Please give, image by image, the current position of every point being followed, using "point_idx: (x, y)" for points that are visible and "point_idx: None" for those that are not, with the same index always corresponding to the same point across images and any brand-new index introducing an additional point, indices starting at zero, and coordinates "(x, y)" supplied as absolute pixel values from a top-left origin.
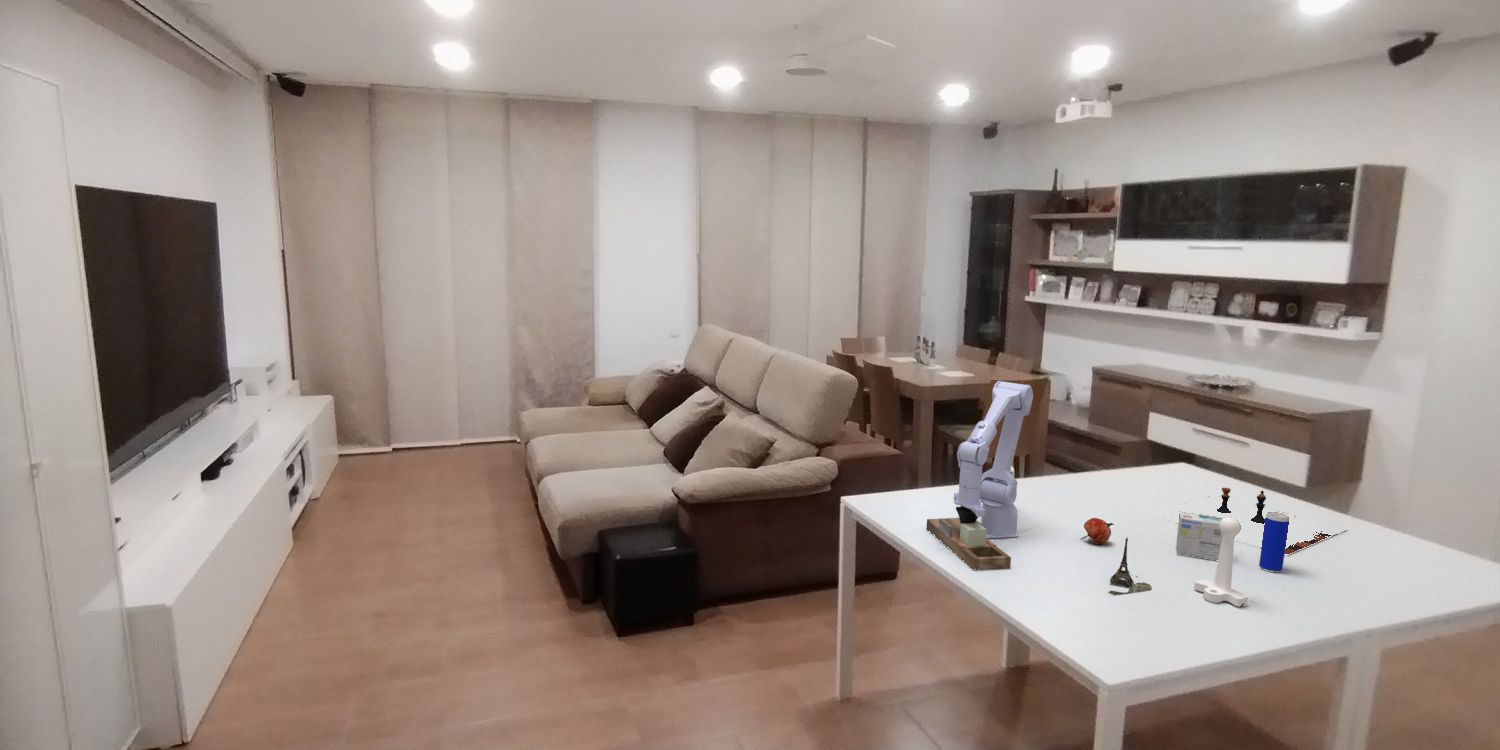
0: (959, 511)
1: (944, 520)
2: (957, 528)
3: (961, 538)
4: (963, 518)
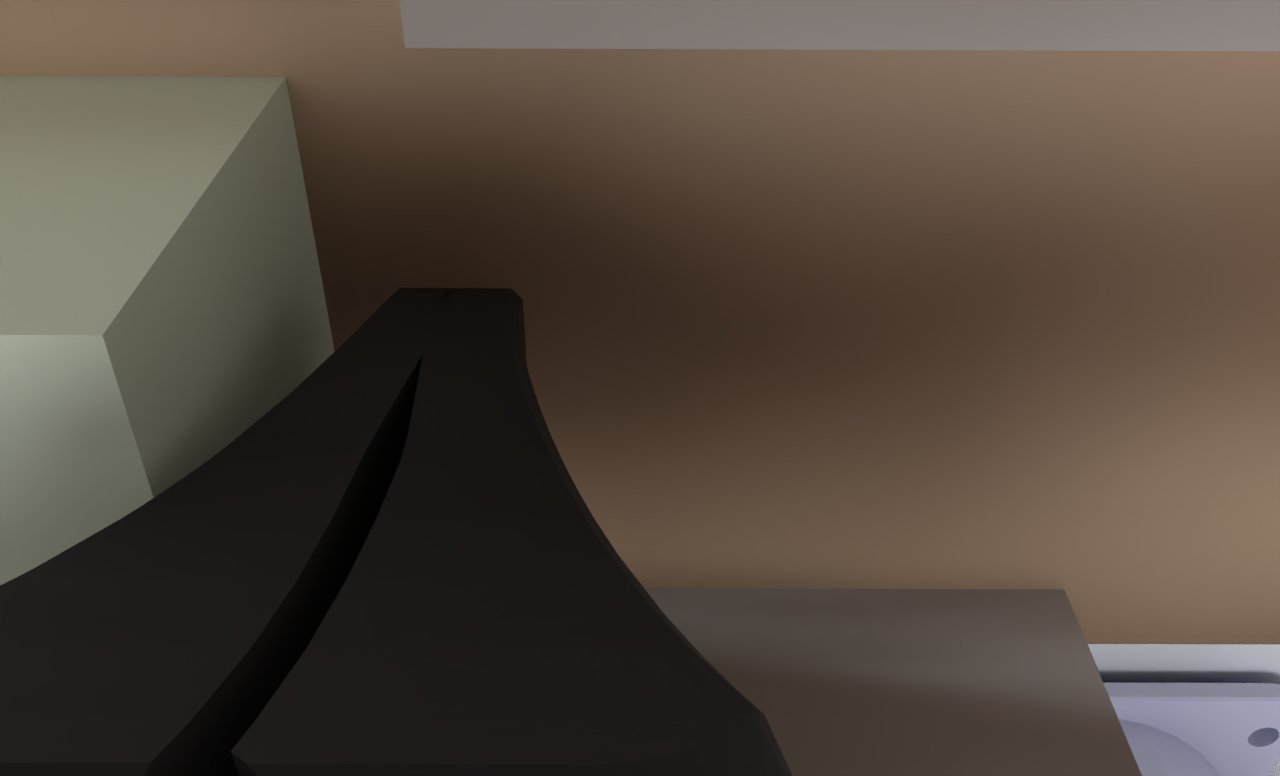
0: (143, 731)
1: (1195, 20)
2: (1083, 361)
3: (159, 103)
4: (33, 576)
